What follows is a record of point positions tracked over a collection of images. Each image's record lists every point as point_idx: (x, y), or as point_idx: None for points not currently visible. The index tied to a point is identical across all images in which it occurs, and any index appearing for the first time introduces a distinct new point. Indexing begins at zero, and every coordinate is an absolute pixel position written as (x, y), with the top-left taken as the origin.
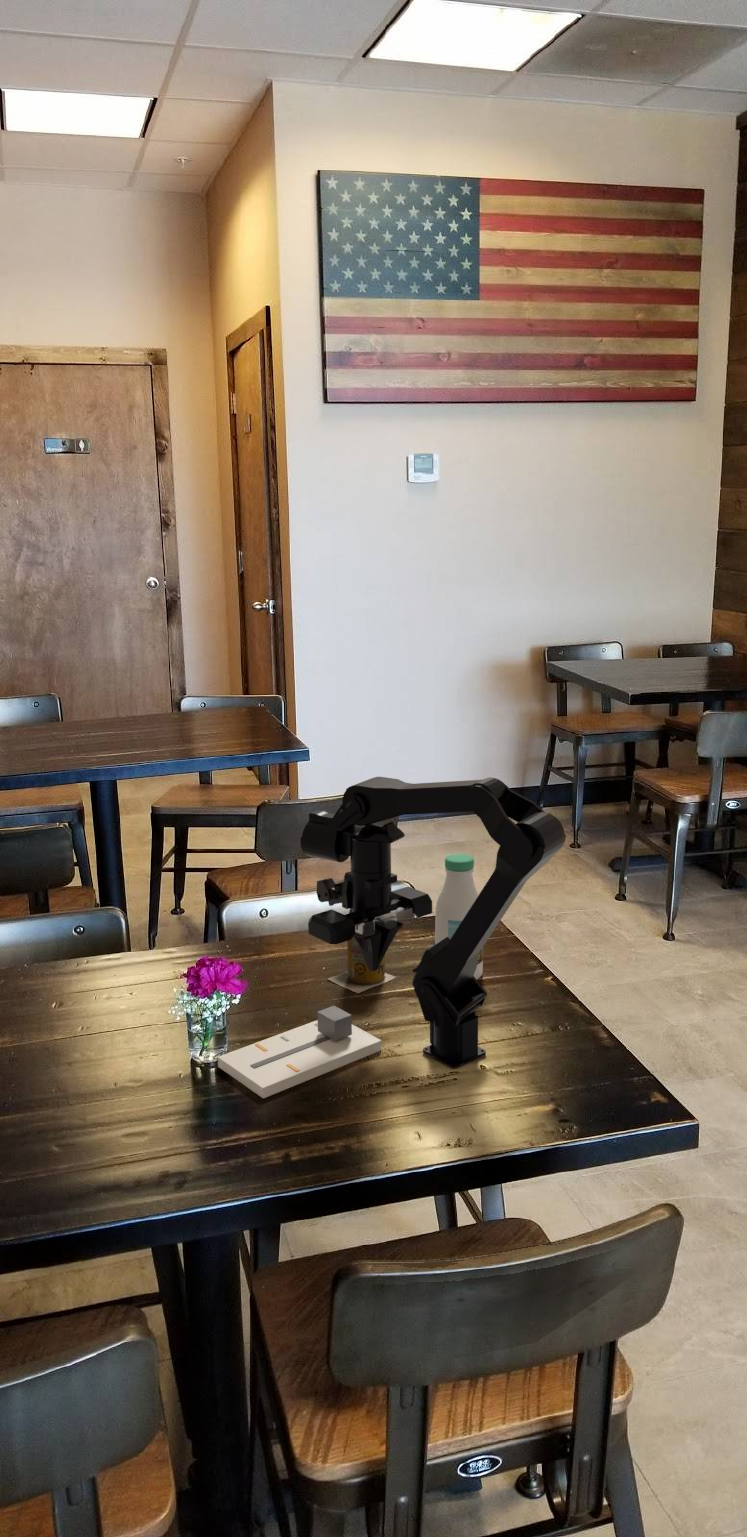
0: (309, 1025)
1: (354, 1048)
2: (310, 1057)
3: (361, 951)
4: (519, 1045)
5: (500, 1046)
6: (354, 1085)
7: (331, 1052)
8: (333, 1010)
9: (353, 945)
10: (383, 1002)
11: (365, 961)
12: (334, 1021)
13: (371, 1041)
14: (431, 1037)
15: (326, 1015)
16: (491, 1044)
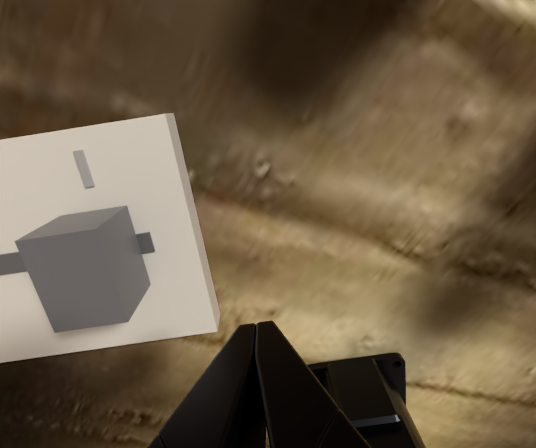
0: (56, 146)
1: (133, 333)
2: (4, 319)
3: (170, 423)
4: (483, 425)
5: (451, 412)
6: (96, 402)
7: None
8: (78, 264)
9: None
10: (393, 61)
11: (217, 357)
12: (55, 331)
13: (191, 324)
14: (327, 391)
15: (39, 285)
16: (443, 399)
